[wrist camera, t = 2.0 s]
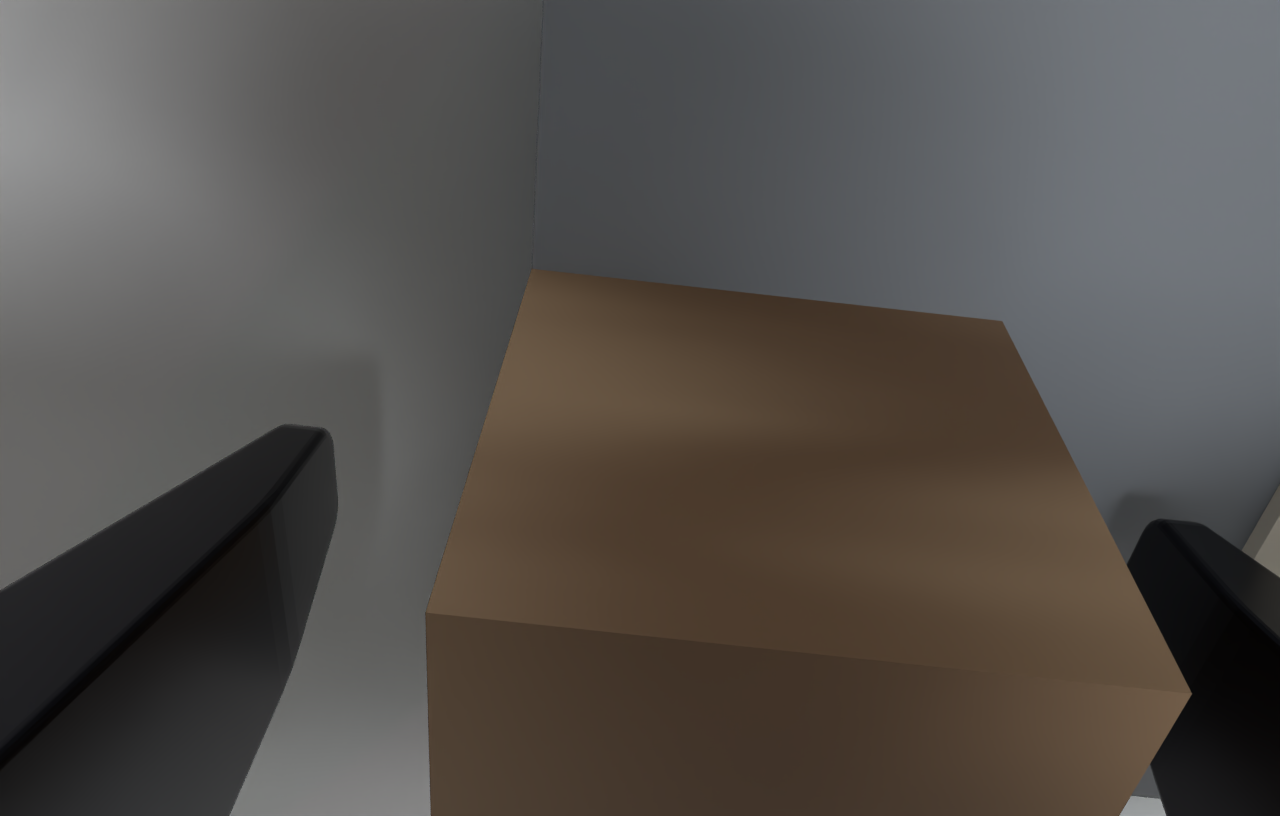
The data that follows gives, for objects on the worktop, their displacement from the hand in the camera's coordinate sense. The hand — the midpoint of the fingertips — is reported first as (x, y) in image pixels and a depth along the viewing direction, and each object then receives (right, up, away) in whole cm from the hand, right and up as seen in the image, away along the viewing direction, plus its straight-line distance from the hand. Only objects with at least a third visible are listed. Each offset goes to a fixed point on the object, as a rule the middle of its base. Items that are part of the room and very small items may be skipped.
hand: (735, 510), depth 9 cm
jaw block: (0, 0, 0) cm, 0 cm away
